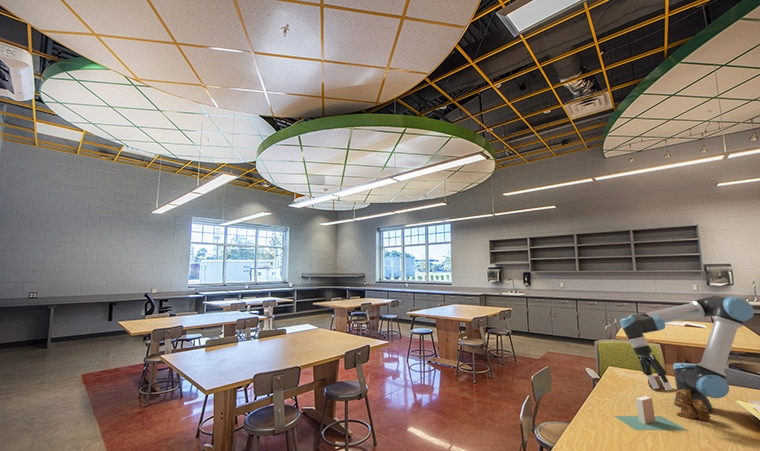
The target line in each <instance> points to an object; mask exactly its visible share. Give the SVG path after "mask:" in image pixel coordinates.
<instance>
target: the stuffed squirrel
mask: <svg viewBox="0 0 760 451" xmlns="http://www.w3.org/2000/svg"><path fill="white" fill-rule="evenodd" d="M676 395H677V396H678V397H679V398H680V399H677V401H675V400H674V401H673V405H674V406H676V407H679V406H680V407H679V408H680V411H679V412H676V416H677V417H681V418H684V419H688V420H699V421H702V422H705V421H708V420H710V419H711V415H710V412H708V408H707V407H706V405H705V404H704V403H703V402H702V401H701V400H697V399H696V400H693V399H692V397H691V390H685V389H680V390H677V389H676V392H675V398H676V397H677V396H676Z"/></svg>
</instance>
